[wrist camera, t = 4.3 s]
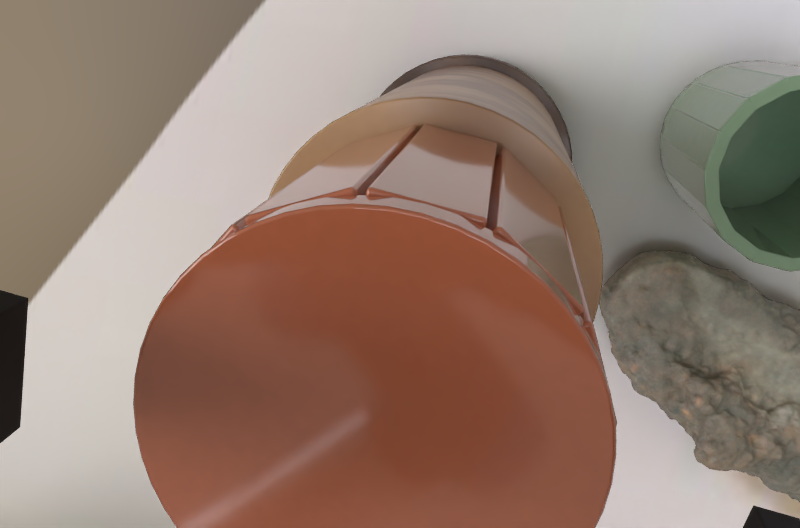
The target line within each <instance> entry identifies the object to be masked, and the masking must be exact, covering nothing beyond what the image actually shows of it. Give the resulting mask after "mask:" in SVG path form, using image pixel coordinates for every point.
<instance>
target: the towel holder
mask: <svg viewBox="0 0 800 528" xmlns="http://www.w3.org/2000/svg"><path fill="white" fill-rule="evenodd" d="M425 124H429V125H432V126H436V127H440V128H444V129H448V130H452V131H456V132H459V133H463V134H467V135H471V136H475V137H479V138H483V139H486V140H490V141H494V142H496V143H497V150H496V154H497V153H498V152H499V151H500V150H501V149H502V148H507V149H508V150H509V151H510V152H511V153H512V154H513V155H514V156H515V157H516V158H517V159H518V160H519V161H520V162H521V163H522V164H523V165H524V166H525V167H526V168H527V169H528V170H529V171H530V172H531V173H532V174H533V175H534V176H535V177H536V178H537V179H538V180H539V181H540V182H541V183H542V184H543V185H544V186H545V187H546V188H547V189H548V190H549V191H550V192H551V193H552V194H553V195H554V196H555V197H556V200H557V204H558V206H560V207H561V208H562V211H563V215H564V219H565V222H566V226H567V230H568V233H569V237H570V240H571V244H572V248H573V251H574V255H575V259H576V262H577V266H578V270H579V273H580V277H581V281H582V284H583V288H584V292H585V295H586V299H587V303H588V306H589V310H590V314H591V317H592V321H594V319H595V315H596V311H597V308H598V304H599V300H600V295H601V287H602V279H603V255H602V248H601V242H600V235H599V230H598V227H597V224H596V221H595V217H594V214H593V211H592V208H591V206H590V204H589V201H588V199H587V197H586V194H585V192H584V190H583V188H582V185H581V183H580V181H579V178H578V176H577V174H576V172H575V169H574V167H573V165H572V151H571V145H570V138H569V135H568V132H567V128H566V125H565V123H564V121H563V118H562V116H561V114H560V112H559V110H558V108H557V107H556V105H555V104H554V102H553V101H552V99H551V97H550V96H549V95H548V94H547V93H546V91H545V90H544V89H543V88H542V87H541V86H540V85H539V84H538V83H537V82H536V81H535V80H533V79H532V78H531V77H530V76H529V75H527V74H526V73H524V72H523V71H521V70H520V69H518V68H516V67H514V66H512V65H510V64H508V63H506V62H503V61H500V60H496V59H493V58H489V57H484V56H478V55H455V56H447V57H443V58H439V59H435V60H432V61H429V62H427V63H424V64H421V65H419V66H417V67H415V68H414V69H412V70H410V71H408V72H406V73H405V74H404V75H402V76H401V77H400V78H398V79H397V80H395V81H394V82H393V83H392V84H391V85H390V86H389V87H388V88H387V89H386V90H385V91H384V92H383V94H382V95H381V96H380V97H379V98H377V99H375V100H373V101H371V102H369V103H367V104H365V105H364V106H362V107H360V108H358V109H356V110H354V111H352V112H350V113H348V114H347V115H345V116H343V117H341V118H339V119H337V120H335V121H334V122H332V123H330V124H329V125H327V126H326V127H325V128H323V129H322V130H321V131H319V132H318V133H317V134H315V135H314V136H313V137H312V138H311V139H309V140H308V141H307V142H306V143H305V144H304V145H303V146H302V147H301V148H300V149H299V150H298V151H297V152H296V154H295V155H294V156H293V157H292V159H291V160H290V161H289V163H288V164H287V165H286V166H285V168H284V169H283V171H282V172H281V174H280V176H279V178H278V179H277V181H276V183H275V185H274V186H273V188H272V191H271V193H270V196H269V198H270V197H272V196H273V195H275V194H276V193H278V192H279V191H280V190H282V189H283V188H285V187H286V186H288V185H289V184H290V183H292V182H293V181H295V180H296V179H297V178H299V177H300V176H302V175H303V174H305V173H306V172H307V171H309V170H310V169H312V168H313V167H314V166H316V165H317V164H319V163H320V162H322V161H323V160H324V159H326V158H327V157H329V156H330V155H331V154H333V153H334V152H336V151H337V150H339V149H341V148H343V147H344V146H346V145H347V144H348V143H351V142H354V141H358V140H361V139H365V138H368V137H372V136H375V135H379V134H382V133H386V132H389V131H393V130H396V129H400V128H403V127H407V126H410V125H417V126H418V129H419V130H420V129H421V128H422V127H423V126H424V125H425ZM269 198H268V199H269Z"/></svg>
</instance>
